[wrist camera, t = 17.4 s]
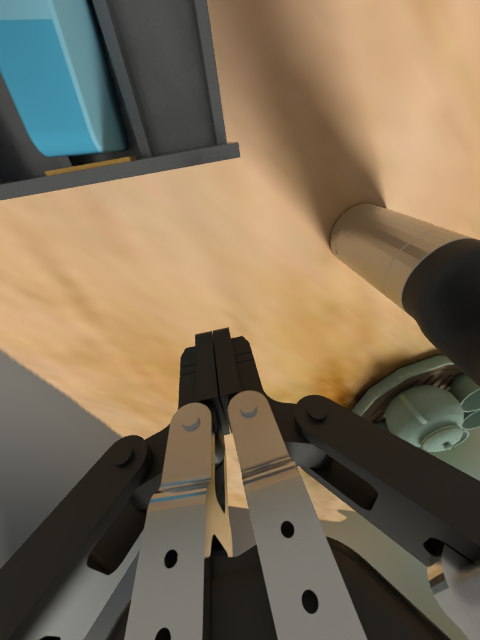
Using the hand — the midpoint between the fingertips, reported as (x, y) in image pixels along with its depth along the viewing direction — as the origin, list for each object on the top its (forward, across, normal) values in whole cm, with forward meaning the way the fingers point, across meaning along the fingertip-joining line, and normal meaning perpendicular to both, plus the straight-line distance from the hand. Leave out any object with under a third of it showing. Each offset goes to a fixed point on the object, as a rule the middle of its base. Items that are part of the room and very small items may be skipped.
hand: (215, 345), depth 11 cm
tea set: (+30, -49, +62) cm, 85 cm away
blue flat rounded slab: (+28, +8, -14) cm, 32 cm away
